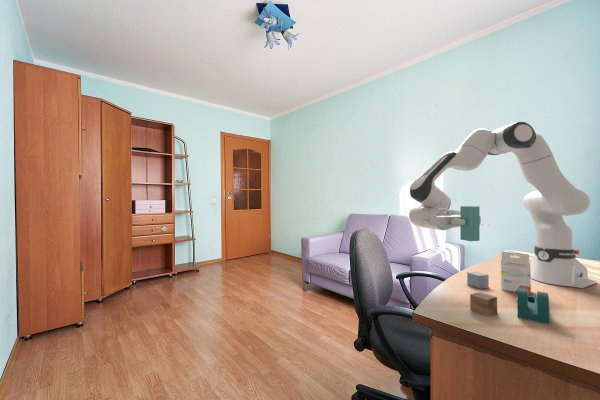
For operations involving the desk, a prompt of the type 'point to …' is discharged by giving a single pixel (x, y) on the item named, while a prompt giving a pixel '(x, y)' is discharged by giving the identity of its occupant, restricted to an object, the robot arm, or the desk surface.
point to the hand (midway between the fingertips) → (472, 222)
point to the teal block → (470, 223)
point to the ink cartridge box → (515, 272)
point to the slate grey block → (478, 279)
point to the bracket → (533, 306)
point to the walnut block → (483, 303)
